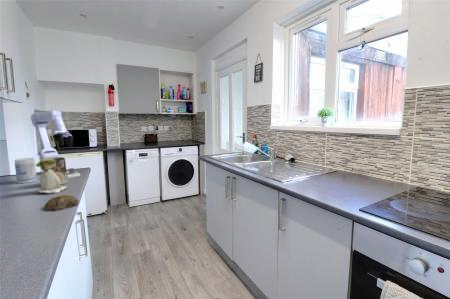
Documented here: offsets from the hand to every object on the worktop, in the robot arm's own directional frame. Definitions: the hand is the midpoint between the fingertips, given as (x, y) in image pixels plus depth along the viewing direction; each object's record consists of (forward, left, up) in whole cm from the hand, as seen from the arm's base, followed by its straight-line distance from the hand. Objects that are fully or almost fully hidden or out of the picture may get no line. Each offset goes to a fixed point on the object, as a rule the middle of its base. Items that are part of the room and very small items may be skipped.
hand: (66, 146), depth 147 cm
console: (-12, 0, -22) cm, 25 cm away
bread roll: (+50, -19, -22) cm, 58 cm away
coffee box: (+7, -9, -22) cm, 25 cm away
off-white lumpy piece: (+20, -15, -22) cm, 34 cm away
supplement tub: (-16, -19, -22) cm, 33 cm away
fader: (-9, +3, -20) cm, 22 cm away
